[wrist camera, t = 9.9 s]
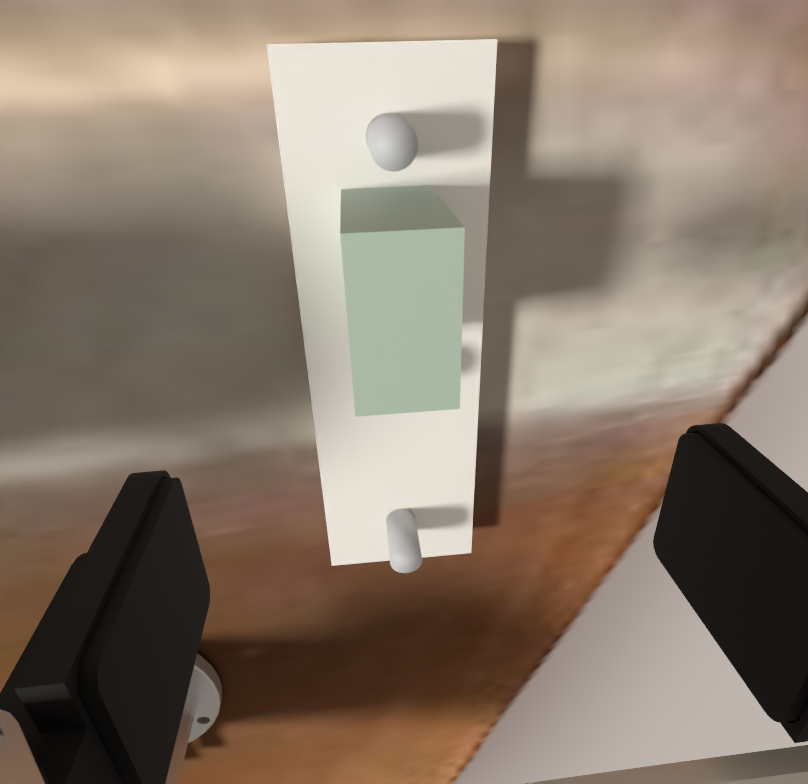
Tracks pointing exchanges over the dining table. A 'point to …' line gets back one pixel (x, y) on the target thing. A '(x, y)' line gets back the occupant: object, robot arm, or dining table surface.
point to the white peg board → (324, 280)
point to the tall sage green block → (402, 298)
